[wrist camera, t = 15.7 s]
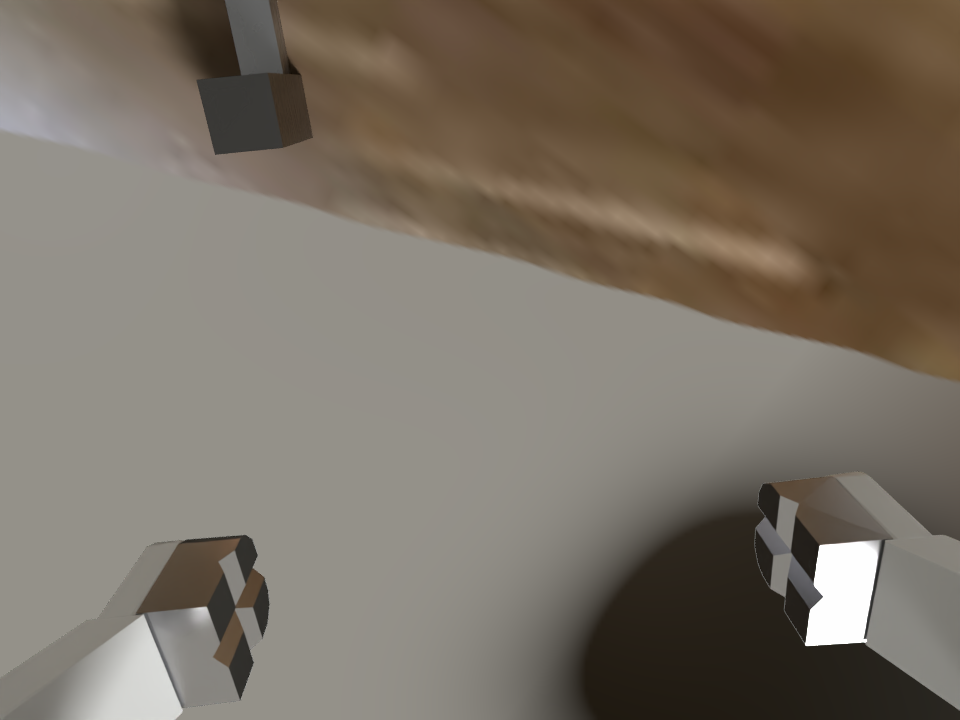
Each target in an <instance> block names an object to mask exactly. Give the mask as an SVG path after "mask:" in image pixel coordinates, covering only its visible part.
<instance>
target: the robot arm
mask: <svg viewBox="0 0 960 720" xmlns="http://www.w3.org/2000/svg"><path fill="white" fill-rule="evenodd" d="M758 507H759V508H760V509H761V511H762V512H763V514H764V515H765V518H764V519H763V520H762V522H761V523H760V524H759V525H758V526H757V527H756V529H755V550H756V556H757V561H758V565H759V567H760V570H761V572H762V575H763V577H764V579H765V580H766V582H767V584H768V585H769V587H770V588H771V589H772V590H774V591H775V592H777V593H779V594H781V595H783V596H784V597H785V606H784V611H785V613H786V615H787V616H788V618H789V619H790V621H791V622H792V624H793V625H794V627H795V629H796V630H797V632H798V634H799V635H800V636H801V638H802V640H803V641H804V643H805V645H820V644H835V643H849V642H864V641H866V643H865V644H866V645H867V646H869V647H870V648H871V649H873V650H875V651H876V652H877V653H879V654H880V655H881V656H883V657H885V658H886V659H887V660H889V661H890V662H892V663H893V664H894V665H896V666H897V667H899V668H900V669H901V670H903V671H904V672H906V673H907V674H909V675H910V676H911V677H913V678H914V679H916V680H917V681H919V682H920V683H921V684H923V685H924V686H926V687H927V688H929V689H930V690H931V691H933V692H935V693H936V694H937V695H939V696H940V697H941V698H943V699H944V700H946V701H947V702H949V703H950V704H951V705H953V706H954V707H956V708H957V709H959V710H960V541H958V540H955V539H953V538H950V537H948V536H945V535H935V536H933V535H932V534H930V533H929V532H928V531H927V530H926V529H925V528H924V527H923V526H922V525H921V524H920V523H919V522H918V521H917V520H916V519H915V518H913V517H912V516H911V515H910V514H909V513H908V512H907V511H906V510H905V509H904V508H903V507H902V506H901V505H899V503H897V502H896V501H895V500H894V499H893V498H892V497H891V496H890V495H889V494H888V493H887V492H886V491H885V490H883V489H882V488H881V487H880V486H879V485H878V484H877V483H876V482H875V481H874V480H873V479H872V478H871V477H870V476H869V475H867V474H865V473H862V472H859V471H858V472H850V473H842V474H835V475H827V476H826V477H819V478H810V479H800V480H790V481H782V482H772V483H764V484H762V486H761V489H760V491H759V497H758ZM257 556H258V554H257V552H256V549H255V546H254V543H253V540H252V539H251V538H250V537H248V536H247V535H239V536H226V537H215V538H214V537H213V538H201V539H188V540H185V541H182V540H178V541H168V542H157V543H154V544H151V545H149V546H147V547H146V549H145V550H144V551H143V553H142V555H141V556H140V557H139V559H138V560H137V562H136V563H135V565H134V566H133V567H132V569H131V570H130V572H129V573H128V575H127V576H126V578H125V579H124V581H123V582H122V584H121V585H120V587H119V588H118V589H117V591H116V592H115V594H114V595H113V597H112V598H111V600H110V601H109V602H108V604H107V605H106V607H105V608H104V610H103V611H102V613H101V614H100V616H99V617H98V618H97V619H92V620H86V621H85V622H83V623H82V624H80V625H79V626H77V627H76V628H74V629H73V630H71V631H70V632H68V633H67V634H65V635H64V636H62V637H61V638H59V639H58V640H56V641H55V642H53V643H52V644H50V645H49V646H47V647H46V648H44V649H43V650H41V651H40V652H38V653H37V654H35V655H34V656H32V657H31V658H29V659H28V660H27V661H25V662H23V663H22V664H21V665H19V666H17V667H16V668H14V669H13V670H11V671H10V672H8V673H7V674H5V675H4V676H3V677H1V678H0V720H175V719H176V718H177V717H178V716H179V715H180V714H181V713H182V712H183V710H182V708H187V707H196V706H203V705H211V704H219V703H227V702H235V701H240V700H241V697H242V694H243V692H244V689H245V686H246V683H247V681H248V678H249V675H250V672H251V669H252V667H253V664H254V661H253V658H252V655H251V652H250V650H251V649H252V648H253V647H254V646H255V645H256V644H257V643H258V642H259V641H261V640H262V639H263V636H264V633H265V630H266V627H267V624H268V615H269V605H270V604H269V594H268V588H267V585H266V582H265V578H264V577H263V576H262V575H261V574H259V573H258V572H257V571H256V570H254V569H253V566H254V564H255V561H256V558H257Z"/></svg>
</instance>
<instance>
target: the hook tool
mask: <svg viewBox="0 0 960 720" xmlns="http://www.w3.org/2000/svg"><path fill="white" fill-rule="evenodd" d="M225 3H226V8H227V12H228V17H229V21H230V26H231V30H232V35H233V39H234V44H235V48H236V53H237V57H238V62H239V66H240V71H241V75H240V76H230V77H220V78H210V79H201V80H197V84H198V88H199V92H200V96H201V100H202V104H203V108H204V112H205V116H206V120H207V124H208V128H209V132H210V136H211V140H212V144H213V148H214V152H215V155H216V154H226V153H236V152H246V151H256V150H266V149H275V148H284V147H287V146H290V145H293V144H295V143H298V142H301V141H304V140H307V139H310V138H313V136H312V131H311V126H310V120H309V115H308V110H307V104H306V99H305V94H304V88H303V83H302V78H301V75H294V74H291V73H290V67H289V62H288V57H287V52H286V47H285V42H284V37H283V31H282V26H281V21H280V16H279V11H278V6H277V0H225Z"/></svg>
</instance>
